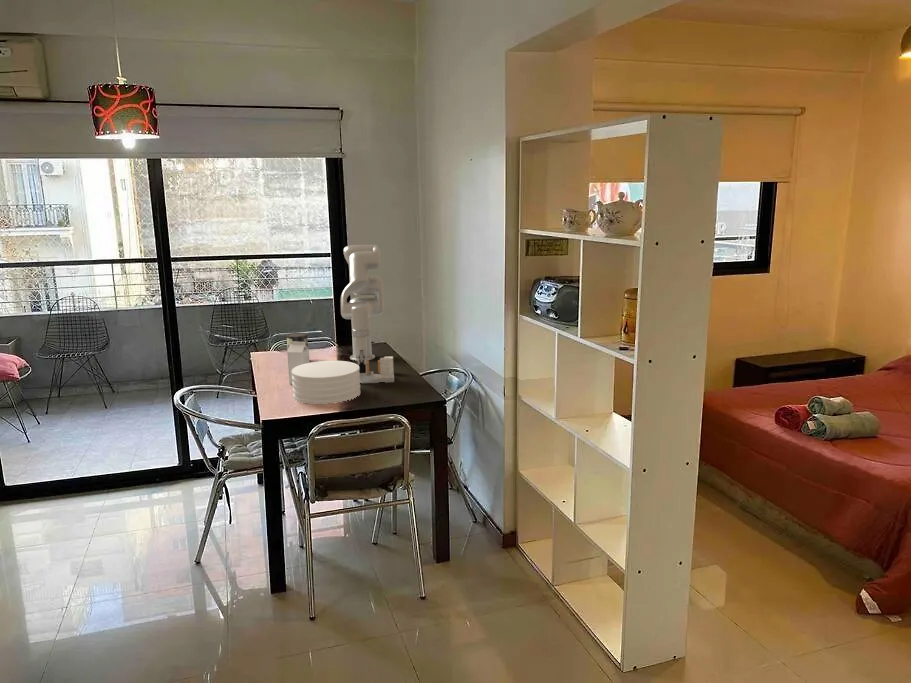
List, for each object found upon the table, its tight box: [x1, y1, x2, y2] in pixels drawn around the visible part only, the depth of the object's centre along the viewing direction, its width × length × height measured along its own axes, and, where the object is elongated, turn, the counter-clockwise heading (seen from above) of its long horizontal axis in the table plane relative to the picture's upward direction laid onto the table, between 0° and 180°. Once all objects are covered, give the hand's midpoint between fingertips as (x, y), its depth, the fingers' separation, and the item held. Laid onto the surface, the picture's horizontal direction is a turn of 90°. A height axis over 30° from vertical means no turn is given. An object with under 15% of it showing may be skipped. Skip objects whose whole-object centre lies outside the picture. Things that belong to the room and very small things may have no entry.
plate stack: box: [291, 360, 361, 405], centre depth 287 cm, size 28×28×12 cm
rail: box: [359, 357, 395, 384], centre depth 307 cm, size 8×24×10 cm, turn 96°
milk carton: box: [287, 341, 311, 385], centre depth 304 cm, size 7×7×19 cm
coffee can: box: [286, 332, 309, 350], centre depth 343 cm, size 10×10×14 cm
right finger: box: [356, 358, 370, 376], centre depth 307 cm, size 4×5×8 cm
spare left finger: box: [383, 356, 395, 374], centre depth 319 cm, size 4×5×8 cm
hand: (362, 370), depth 307 cm, fingers open, 9 cm apart
